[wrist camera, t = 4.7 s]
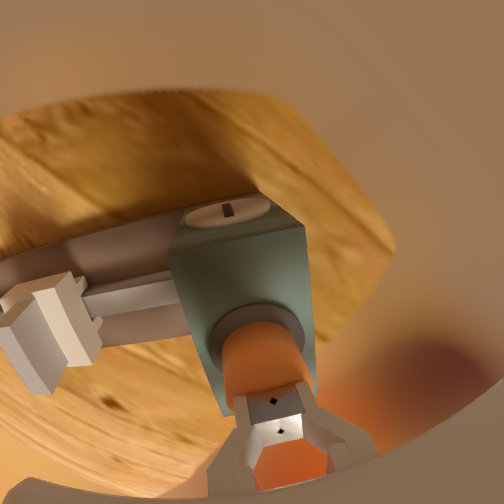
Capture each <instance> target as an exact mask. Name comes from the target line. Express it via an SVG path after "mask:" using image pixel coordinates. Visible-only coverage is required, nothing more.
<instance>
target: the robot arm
mask: <svg viewBox="0 0 504 504" xmlns="http://www.w3.org/2000/svg"><path fill="white" fill-rule="evenodd" d="M233 402H234V410H235V418H236V425H237V428H234V429H233V430H232V432H231V433H230V435H229V437H228V438H227V440H226V441H225V443H224V444H223V446H222V448H221V449H220V451H219V452H218V454H217V456H216V457H215V458H214V460H213V462H212V463H211V465H210V466H209V468H208V469H207V481H208V497H205V498H181V499H165V498H163V499H162V498H140V497H128V496H118V495H110V494H103V493H97V492H91V491H85V490H80V489H75V488H71V487H66V486H62V485H58V484H54V483H50V482H47V481H43V480H40V479H37V478H33V477H28V478H26V479H24V480H23V481H21V482H20V483H18V484H17V485H16V486H15V487H13V488H12V489H11V490H10V491H9V492H8V493H7V495H6V496H5V498H4V500H3V503H2V504H504V378H503V379H501V380H500V381H499V382H498V383H497V384H495V385H494V386H493V387H492V388H490V389H489V390H488V391H487V392H485V393H484V394H483V395H482V396H480V397H479V398H477V399H476V400H475V401H473V402H472V403H471V404H469V405H468V406H466V407H465V408H463V409H462V410H460V411H459V412H457V413H456V414H455V415H453V416H451V417H450V418H448V419H447V420H445V421H444V422H442V423H440V424H439V425H437V426H436V427H434V428H432V429H430V430H428V431H427V432H425V433H423V434H421V435H419V436H418V437H416V438H414V439H412V440H410V441H408V442H406V443H404V444H402V445H401V446H398V447H396V448H394V449H392V450H390V451H387V452H385V453H383V454H381V455H380V454H379V452H378V450H377V448H376V447H375V444H374V443H373V441H372V439H371V437H370V435H369V433H368V432H367V431H366V430H363V429H362V428H360V427H358V426H356V425H354V424H352V423H350V422H348V421H346V420H344V419H342V418H341V417H339V416H337V415H335V414H333V413H331V412H330V411H328V410H326V409H324V408H320V409H319V407H318V405H317V402H316V400H315V398H314V395H313V393H312V391H311V388H310V386H309V384H308V382H307V381H306V380H305V381H302V382H298V383H294V384H290V385H286V386H282V387H278V388H274V389H270V390H267V391H262V392H257V393H251V394H246V395H241V396H235V397H233ZM300 438H304V439H305V440H307V441H308V442H309V443H310V444H312V445H313V446H314V447H316V448H317V449H319V450H320V451H321V452H323V453H324V454H326V455H327V465H326V475H325V476H321V477H318V478H314V479H311V480H307V481H303V482H300V483H295V484H291V485H287V486H283V487H278V488H273V489H268V490H263V491H262V489H261V487H260V484H259V482H258V480H257V478H256V476H255V474H254V472H253V469H254V467H255V465H256V463H257V460H258V458H259V456H260V454H261V452H262V449H263V447H266V446H270V445H274V444H278V443H282V442H286V441H291V440H296V439H300Z"/></svg>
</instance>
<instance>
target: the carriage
mask: <svg viewBox="0 0 504 504" xmlns="http://www.w3.org/2000/svg"><path fill="white" fill-rule="evenodd" d="M87 287H88V284H87V282H86V279H85V276H80V277H76V278H73V275H72V273H71V271H68V272H64V273H60V274H56V275H52V276H48V277H44V278H40V279H36V280H32V281H28V282H25V283H21V284H17V285H15V286H14V287H13V288H12V289H10V290H9V291H8V292H7V293H6V294H5V295H4V296H3V297H1V298H0V304H1V306H2V309H3V311H4V313H5V315H4V316H3V317H2V318H1V319H0V346H1V348H2V350H3V352H4V353H5V355H6V357H7V358H8V360H9V361H10V363H11V365H12V366H13V368H14V369H15V371H16V372H17V374H18V375H19V377H20V378H21V380H22V381H23V382H24V384H25V385H26V387H27V388H28V389H29V391H30V392H31V394H40V395H53V392H54V390H55V388H56V386H57V384H58V382H59V380H60V378H61V376H62V374H63V372H64V370H65V368H66V367H73V366H89V365H93V364H94V362H95V359H96V357H97V355H98V353H99V351H100V348H101V346H102V344H103V343H102V341H101V339H100V337H99V335H98V333H97V332H98V330H99V328H100V326H101V324H102V322H103V320H102V318H101V317H94V318H90V316H89V314H88V312H87V309H86V307H85V305H84V303H83V300H82V298H81V295H82V293H83V292H84V291H85V289H86V288H87Z"/></svg>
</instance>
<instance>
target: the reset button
mask: <svg viewBox="0 0 504 504" xmlns="http://www.w3.org/2000/svg"><path fill="white" fill-rule="evenodd" d="M221 353H222V366H223V376H224V387H225V397H226V404H227V406H228V408H229V410H230V411H231V412H232V413H233V414H234V415H235V410H234V402H233V397H235V396H241V395H246V394H251V393H257V392H262V391H267V390H270V389H274V388H278V387H282V386H286V385H290V384H294V383H298V382H302V381H305V380H306V381H307V382H308V384H309V386H310V388H311V391H312V393H313V390H314V383H313V380H312V377H311V375H310V373H309V371H308V368H307V366H306V364H305V362H304V359H303V357H302V355H301V353H300V351H299V348H298V346H297V344H296V342H295V339H294V337H293V335H292V334H291V332H290V331H289V330H288V329H287V328H285V327H284V326H282V325H280V324H277V323H274V322H269V321H258V322H252V323H249V324H246V325H243V326H241V327H239V328H238V329H236V330H235V331H233V332H232V333H231V334H230V335H229V336H228V337H227V339H226V340H225V342H224V344H223V347H222V352H221Z"/></svg>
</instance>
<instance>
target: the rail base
mask: <svg viewBox="0 0 504 504" xmlns="http://www.w3.org/2000/svg"><path fill="white" fill-rule="evenodd" d="M68 271H71V273H72V275H73V278H76V277H80V276H85V279H86V282H87V284H88V287H87V288H86V289H85V291H84V292H83V293H82V295H81V298H82V300H83V303H84V305H85V307H86V309H87V312H88V314H89V316H90V318H94V317H101V318H102V320H103V322H102V324H101V326H100V328H99V330H98V332H97V333H98V335H99V337H100V339H101V341H102V343H103V344H102V346H101V348H102V347H111V346H119V345H127V344H134V343H141V342H148V341H155V340H161V339H168V338H174V337H180V336H185V335H192V338H193V341H194V343H195V346H196V349H197V352H198V354H199V357H200V360H201V362H202V365H203V368H204V370H205V373H206V375H207V378H208V381H209V383H210V386H211V388H212V391H213V393H214V395H215V398H216V400H217V403H218V405H219V407H220V410H221V412H222V414H223V417H225V416H231V415H234V414H233V413H232V412H231V411H230V410H229V408H228V406H227V404H226V397H225V387H224V376H223V366H222V353H221V352H222V347H223V344H224V342H225V340H226V339H227V337H228V336H229V335H230V334H231V333H232V332H233V331H235V330H236V329H238V328H239V327H241V326H243V325H246V324H249V323H252V322H258V321H269V322H274V323H277V324H280V325H282V326H284V327H285V328H287V329H288V330H289V331H290V332H291V334H292V335H293V337H294V339H295V342H296V344H297V346H298V348H299V351H300V353H301V355H302V357H303V359H304V362H305V364H306V366H307V368H308V371H309V373H310V375H311V377H312V380H313V383H314V390H313V395H314V396H317V381H316V357H315V339H314V323H313V309H312V296H311V284H310V273H309V262H308V253H307V243H306V234H305V226H304V225H303V224H302V223H300V222H299V221H298V220H296V219H295V218H294V217H293V216H291V215H290V214H289V213H287V212H286V211H285V210H284V209H282V208H281V207H280V206H278V205H277V204H276V203H274V202H273V201H272V200H271V199H269V198H268V197H267V196H265V195H264V194H263V193H261V192H255V193H249V194H244V195H239V196H234V197H229V198H224V199H219V200H214V201H209V202H205V203H200V204H196V205H191V206H187V207H182V208H178V209H173V210H169V211H165V212H161V213H157V214H152V215H148V216H144V217H140V218H136V219H133V220H129V221H125V222H121V223H117V224H114V225H110V226H106V227H103V228H99V229H95V230H92V231H88V232H85V233H81V234H78V235H75V236H71V237H68V238H65V239H61V240H58V241H55V242H52V243H49V244H45V245H42V246H39V247H36V248H33V249H30V250H27V251H24V252H21V253H18V254H15V255H13V256H10V257H7V258H4V259H1V260H0V298H1V297H3V296H4V295H5V294H6V293H7V292H8V291H9V290H10V289H12V288H13V287H14V286H15V285H17V284H21V283H25V282H28V281H32V280H36V279H40V278H44V277H48V276H52V275H56V274H60V273H64V272H68ZM4 315H5V313H4V311H3V309H2V306H1V304H0V319H1V318H2V317H3V316H4Z"/></svg>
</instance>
